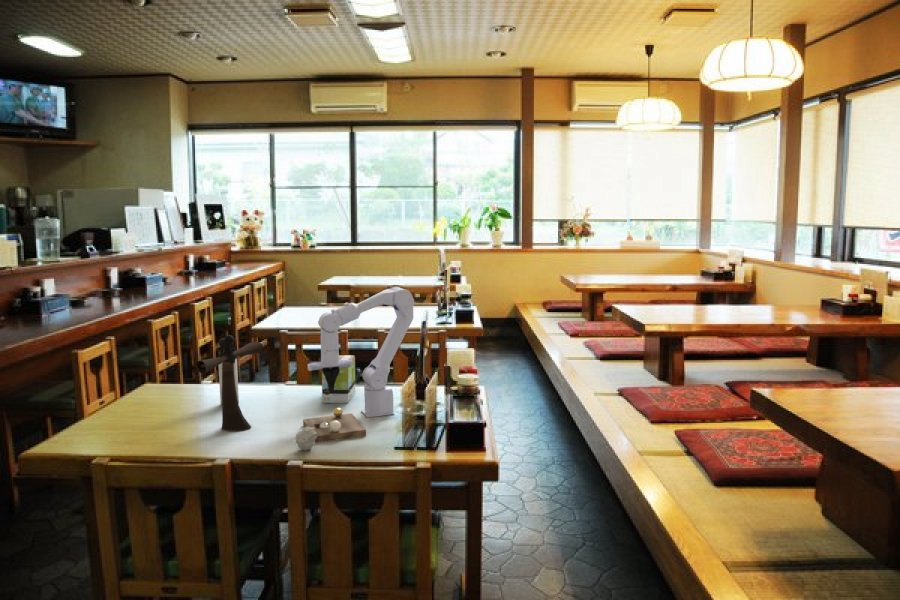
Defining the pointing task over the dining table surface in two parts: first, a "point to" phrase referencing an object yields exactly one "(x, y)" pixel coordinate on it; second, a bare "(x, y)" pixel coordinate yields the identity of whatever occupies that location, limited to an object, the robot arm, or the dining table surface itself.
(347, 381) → the tea box
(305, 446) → the grey rounded lump
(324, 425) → the steel ball
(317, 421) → the walnut board
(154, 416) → the dining table surface
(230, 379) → the t-shaped wooden sculpture
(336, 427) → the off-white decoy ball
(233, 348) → the travel mug
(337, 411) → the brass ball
